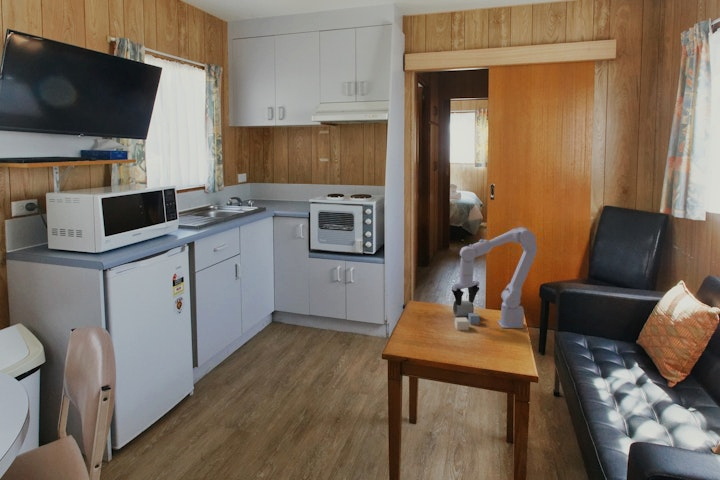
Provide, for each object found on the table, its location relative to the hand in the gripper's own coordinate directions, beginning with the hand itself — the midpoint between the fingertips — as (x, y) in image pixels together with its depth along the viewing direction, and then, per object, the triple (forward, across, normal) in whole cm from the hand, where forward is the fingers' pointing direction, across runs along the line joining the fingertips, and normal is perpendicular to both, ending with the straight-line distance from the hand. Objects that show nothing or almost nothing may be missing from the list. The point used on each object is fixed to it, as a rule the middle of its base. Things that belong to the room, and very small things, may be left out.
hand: (464, 303), depth 226 cm
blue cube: (+10, -5, +1) cm, 11 cm away
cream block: (+10, +4, +3) cm, 11 cm away
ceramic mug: (+10, -7, -9) cm, 15 cm away
